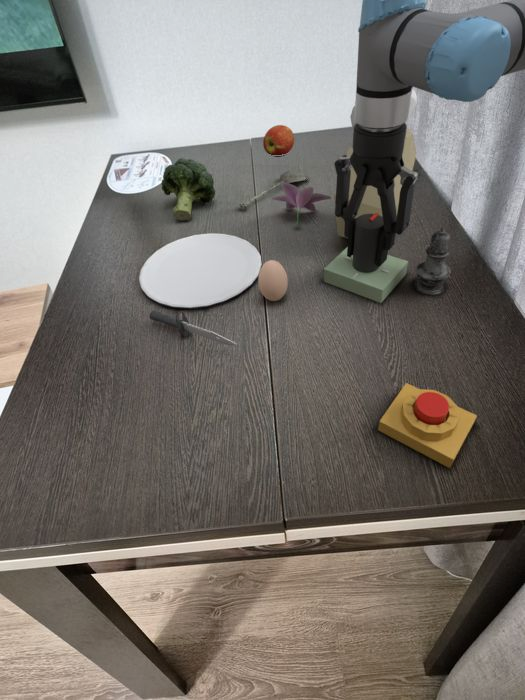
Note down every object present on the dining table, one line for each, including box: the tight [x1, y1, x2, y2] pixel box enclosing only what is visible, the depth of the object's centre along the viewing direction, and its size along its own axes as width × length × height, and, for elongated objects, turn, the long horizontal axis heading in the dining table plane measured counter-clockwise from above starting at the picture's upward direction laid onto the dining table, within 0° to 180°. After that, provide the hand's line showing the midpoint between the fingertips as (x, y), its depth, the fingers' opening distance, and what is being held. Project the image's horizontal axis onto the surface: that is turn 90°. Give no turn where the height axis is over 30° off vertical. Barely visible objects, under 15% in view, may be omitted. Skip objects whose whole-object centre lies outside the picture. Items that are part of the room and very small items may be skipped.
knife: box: [148, 310, 239, 346], centre depth 74 cm, size 19×2×5 cm, turn 58°
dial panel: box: [323, 246, 409, 304], centre depth 82 cm, size 12×10×3 cm
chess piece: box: [413, 226, 452, 296], centre depth 76 cm, size 6×6×12 cm
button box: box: [377, 382, 478, 469], centre depth 58 cm, size 10×8×4 cm
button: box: [414, 392, 449, 425], centre depth 56 cm, size 4×4×2 cm
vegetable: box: [161, 157, 216, 222], centre depth 105 cm, size 12×13×15 cm
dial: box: [352, 213, 384, 273], centre depth 78 cm, size 5×5×9 cm
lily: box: [271, 181, 332, 229], centre depth 97 cm, size 12×12×10 cm
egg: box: [257, 259, 289, 302], centre depth 78 cm, size 5×5×8 cm
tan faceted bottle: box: [333, 87, 418, 240], centre depth 84 cm, size 12×24×28 cm, turn 137°
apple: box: [262, 124, 295, 158], centre depth 122 cm, size 8×8×8 cm
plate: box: [138, 233, 263, 309], centre depth 89 cm, size 25×25×1 cm
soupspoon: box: [239, 170, 308, 211], centre depth 109 cm, size 22×3×7 cm
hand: (366, 257), depth 80 cm, fingers open, 5 cm apart
